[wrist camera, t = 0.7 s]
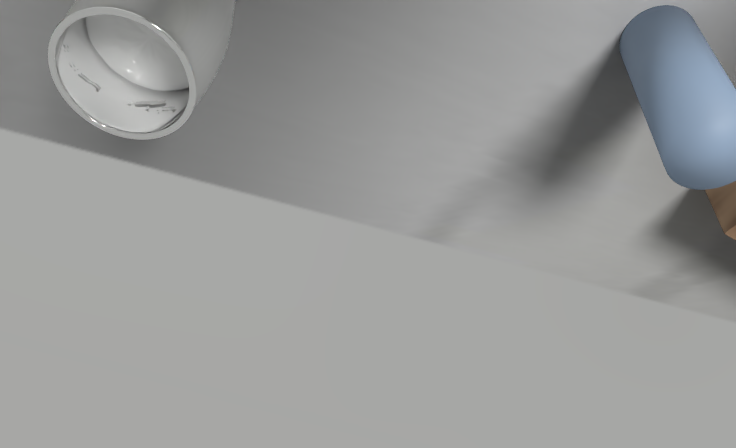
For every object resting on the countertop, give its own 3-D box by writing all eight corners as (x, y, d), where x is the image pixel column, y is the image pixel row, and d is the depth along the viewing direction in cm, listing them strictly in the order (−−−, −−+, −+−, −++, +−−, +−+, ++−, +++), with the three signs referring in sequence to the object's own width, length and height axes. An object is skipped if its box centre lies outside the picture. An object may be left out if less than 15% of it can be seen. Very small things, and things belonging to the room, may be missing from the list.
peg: (657, -9, 41) (716, 98, 32) (713, 29, 42) (784, 142, 33) (603, 50, 44) (644, 163, 35) (657, 85, 45) (709, 202, 36)
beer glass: (283, -6, 43) (225, 129, 32) (182, 19, 45) (93, 155, 34) (240, -123, 39) (156, -15, 28) (130, -91, 41) (9, 23, 29)
